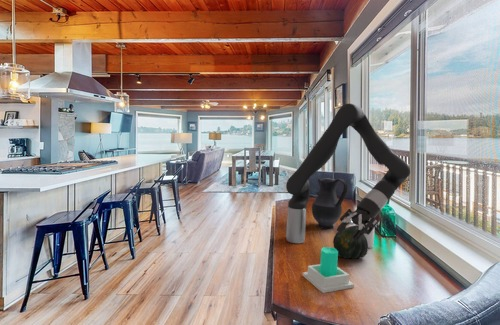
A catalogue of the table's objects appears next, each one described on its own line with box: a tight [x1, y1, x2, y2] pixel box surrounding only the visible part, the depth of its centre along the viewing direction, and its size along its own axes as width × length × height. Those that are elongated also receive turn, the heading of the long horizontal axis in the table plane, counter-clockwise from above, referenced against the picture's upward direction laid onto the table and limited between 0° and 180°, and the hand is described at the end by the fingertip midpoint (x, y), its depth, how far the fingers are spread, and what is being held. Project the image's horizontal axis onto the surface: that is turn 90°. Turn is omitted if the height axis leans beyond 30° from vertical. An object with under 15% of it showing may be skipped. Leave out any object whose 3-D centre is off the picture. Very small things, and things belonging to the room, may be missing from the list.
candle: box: [319, 246, 339, 277], centre depth 106 cm, size 6×6×12 cm
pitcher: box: [311, 178, 348, 230], centre depth 170 cm, size 17×21×30 cm
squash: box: [332, 225, 369, 260], centre depth 130 cm, size 14×15×15 cm
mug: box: [354, 224, 376, 249], centre depth 145 cm, size 12×9×11 cm
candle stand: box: [302, 263, 355, 294], centre depth 106 cm, size 13×13×4 cm
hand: (345, 235), depth 107 cm, fingers open, 8 cm apart
